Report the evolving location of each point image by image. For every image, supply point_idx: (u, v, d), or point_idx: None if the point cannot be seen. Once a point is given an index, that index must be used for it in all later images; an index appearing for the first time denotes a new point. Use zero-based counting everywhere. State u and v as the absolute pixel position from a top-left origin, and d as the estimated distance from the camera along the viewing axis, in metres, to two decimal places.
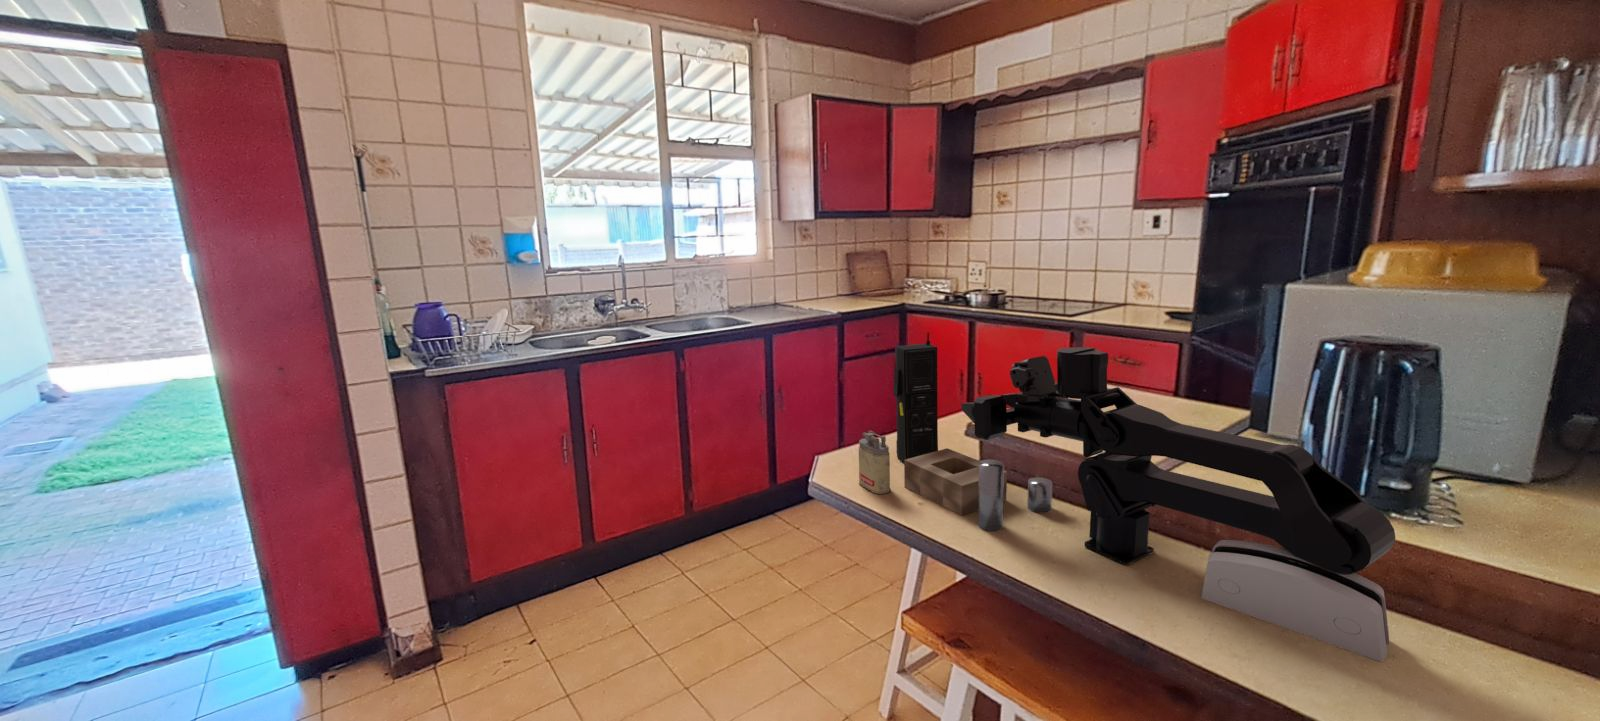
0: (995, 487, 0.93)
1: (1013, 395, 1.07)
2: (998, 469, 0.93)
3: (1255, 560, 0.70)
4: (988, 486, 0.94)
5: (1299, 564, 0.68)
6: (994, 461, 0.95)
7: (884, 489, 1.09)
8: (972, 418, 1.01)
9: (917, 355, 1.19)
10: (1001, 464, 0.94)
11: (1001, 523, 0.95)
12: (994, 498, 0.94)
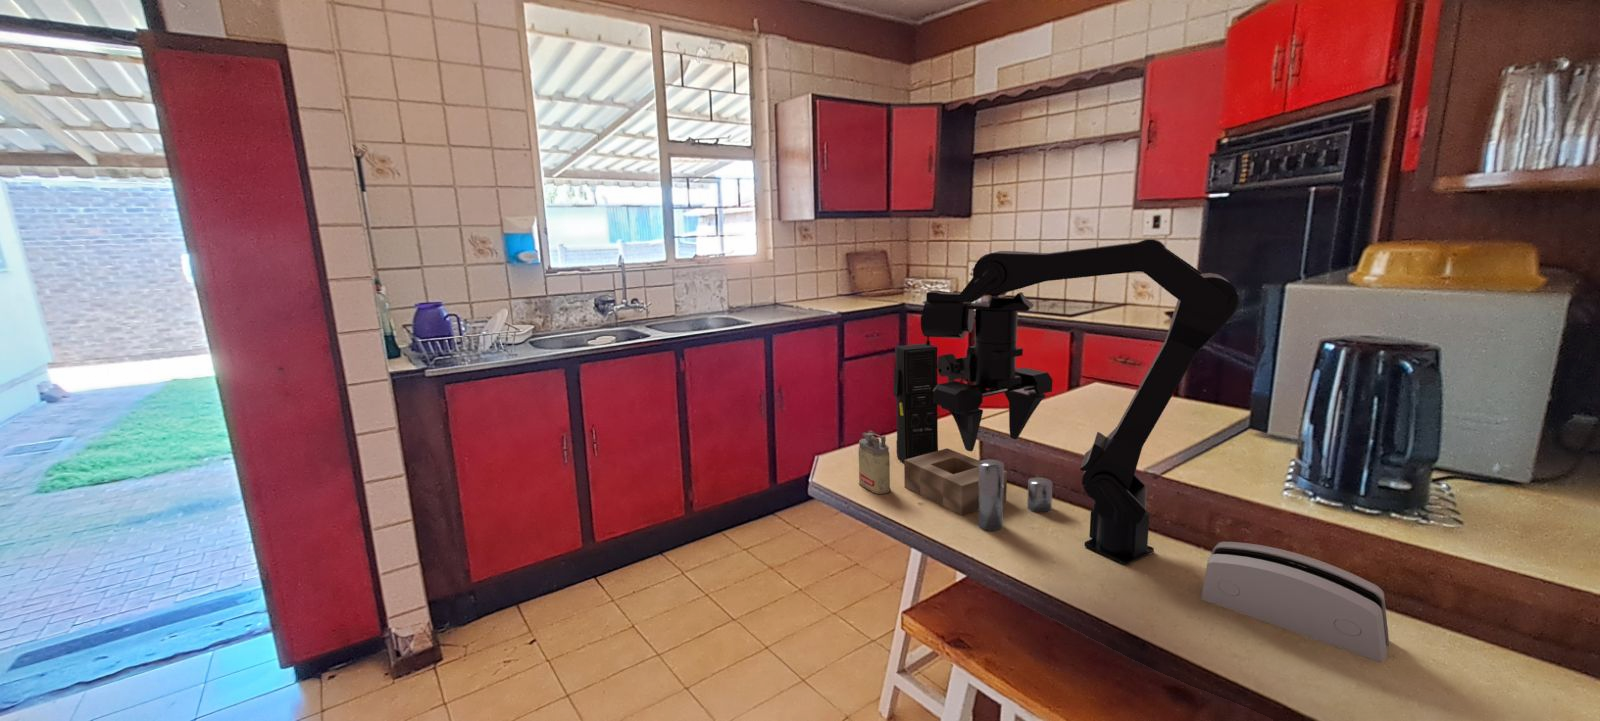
0: (995, 487, 0.93)
1: (1010, 420, 0.96)
2: (998, 469, 0.93)
3: (1255, 562, 0.70)
4: (988, 486, 0.94)
5: (1299, 566, 0.68)
6: (994, 461, 0.95)
7: (884, 489, 1.09)
8: (969, 431, 0.89)
9: (917, 355, 1.19)
10: (1001, 464, 0.94)
11: (1001, 523, 0.95)
12: (994, 498, 0.94)
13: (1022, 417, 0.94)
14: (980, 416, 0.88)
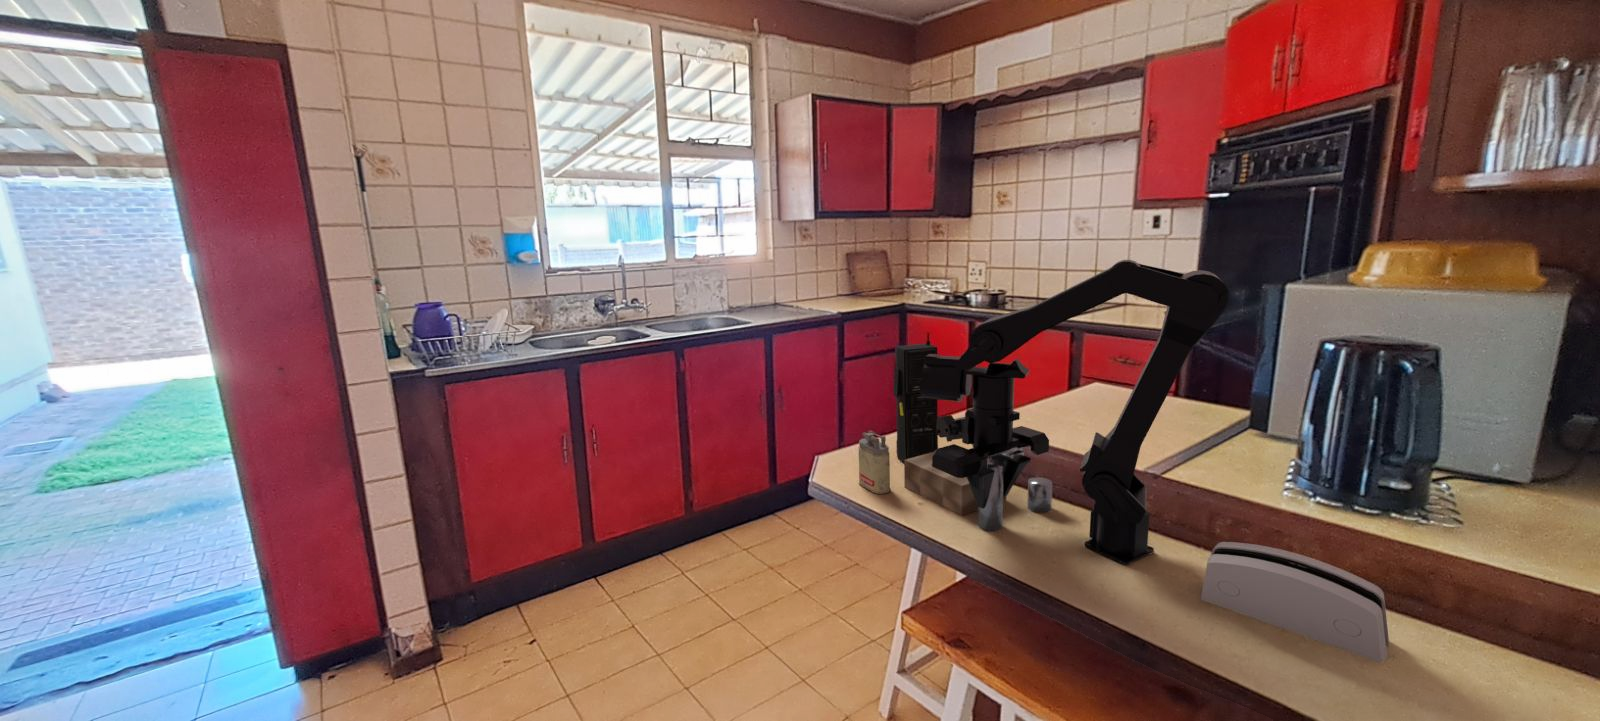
0: (995, 487, 0.93)
1: None
2: (998, 469, 0.93)
3: (1255, 562, 0.69)
4: None
5: (1299, 566, 0.68)
6: (994, 461, 0.95)
7: (884, 489, 1.09)
8: (981, 490, 0.93)
9: (917, 355, 1.19)
10: (1001, 464, 0.94)
11: (1001, 523, 0.95)
12: (994, 498, 0.94)
13: (1008, 481, 0.95)
14: (992, 476, 0.91)
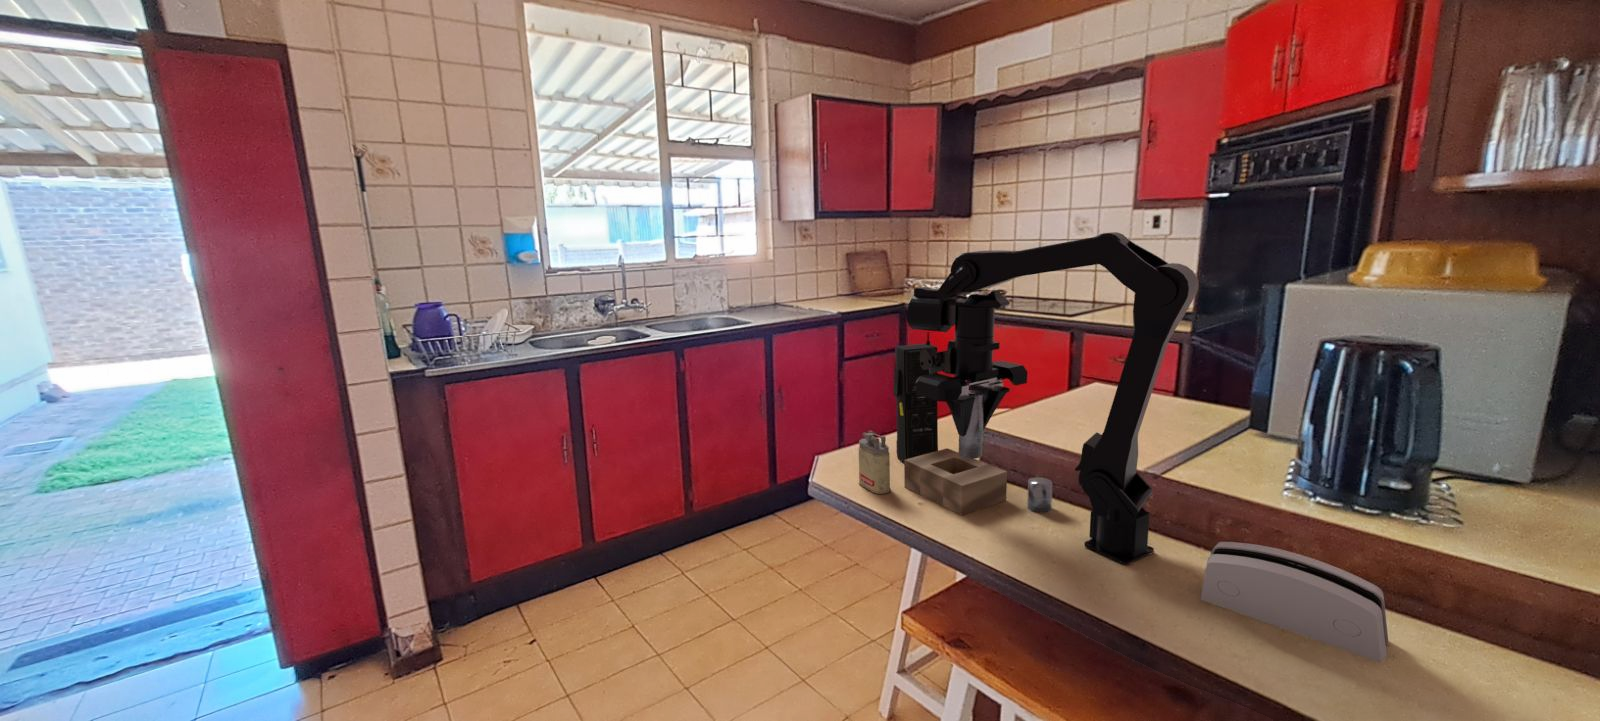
0: (975, 415, 0.97)
1: None
2: (978, 397, 0.97)
3: (1254, 562, 0.69)
4: None
5: (1298, 566, 0.68)
6: (975, 391, 0.99)
7: (884, 489, 1.09)
8: (962, 417, 0.96)
9: (917, 355, 1.19)
10: (981, 393, 0.98)
11: (981, 451, 0.99)
12: (974, 426, 0.98)
13: (987, 410, 0.99)
14: (972, 403, 0.95)
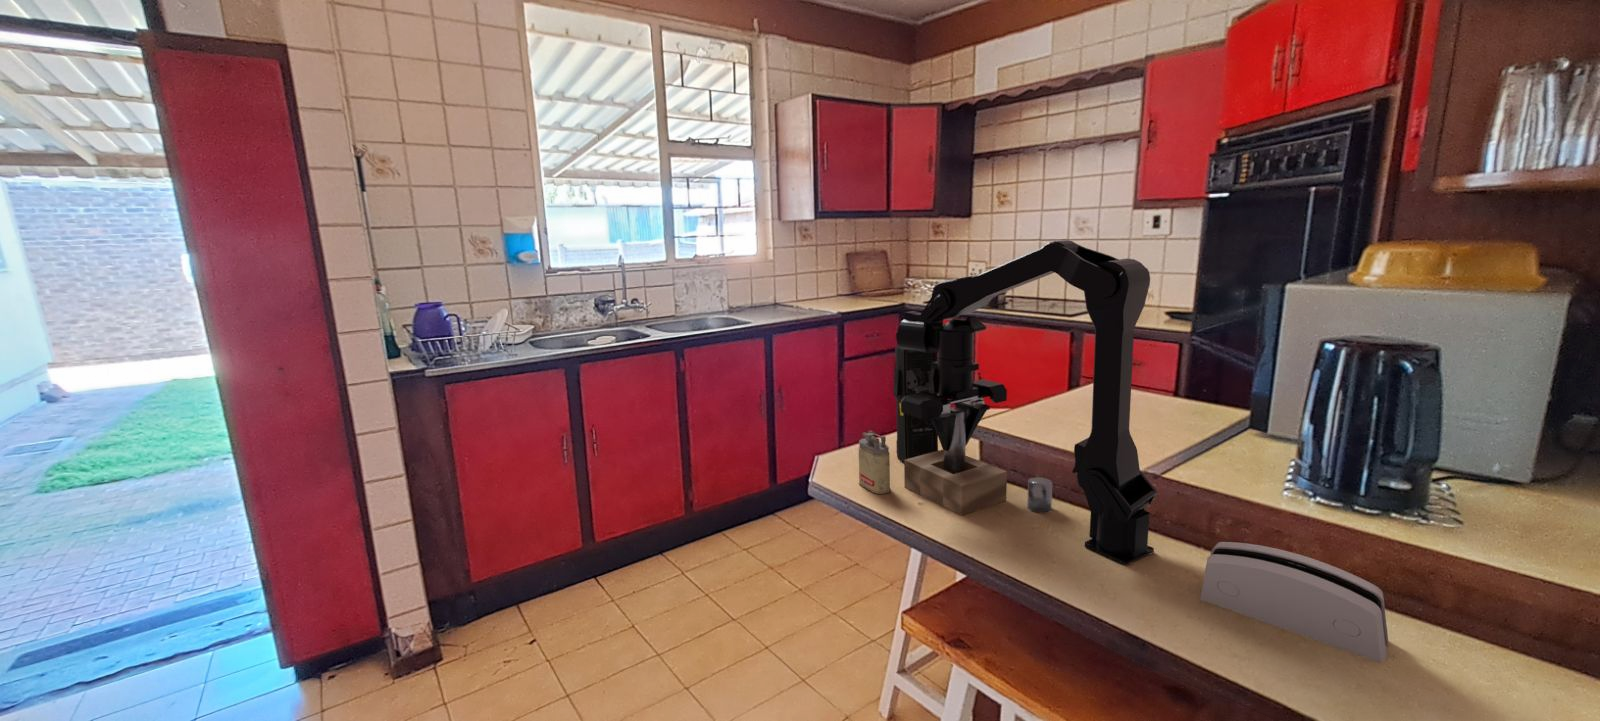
0: (957, 431, 1.05)
1: None
2: (960, 414, 1.04)
3: (1254, 562, 0.69)
4: None
5: (1298, 566, 0.68)
6: (957, 408, 1.07)
7: (884, 489, 1.09)
8: (945, 433, 1.04)
9: (917, 355, 1.19)
10: (963, 411, 1.05)
11: (964, 464, 1.06)
12: (957, 441, 1.05)
13: (969, 426, 1.06)
14: (954, 420, 1.02)
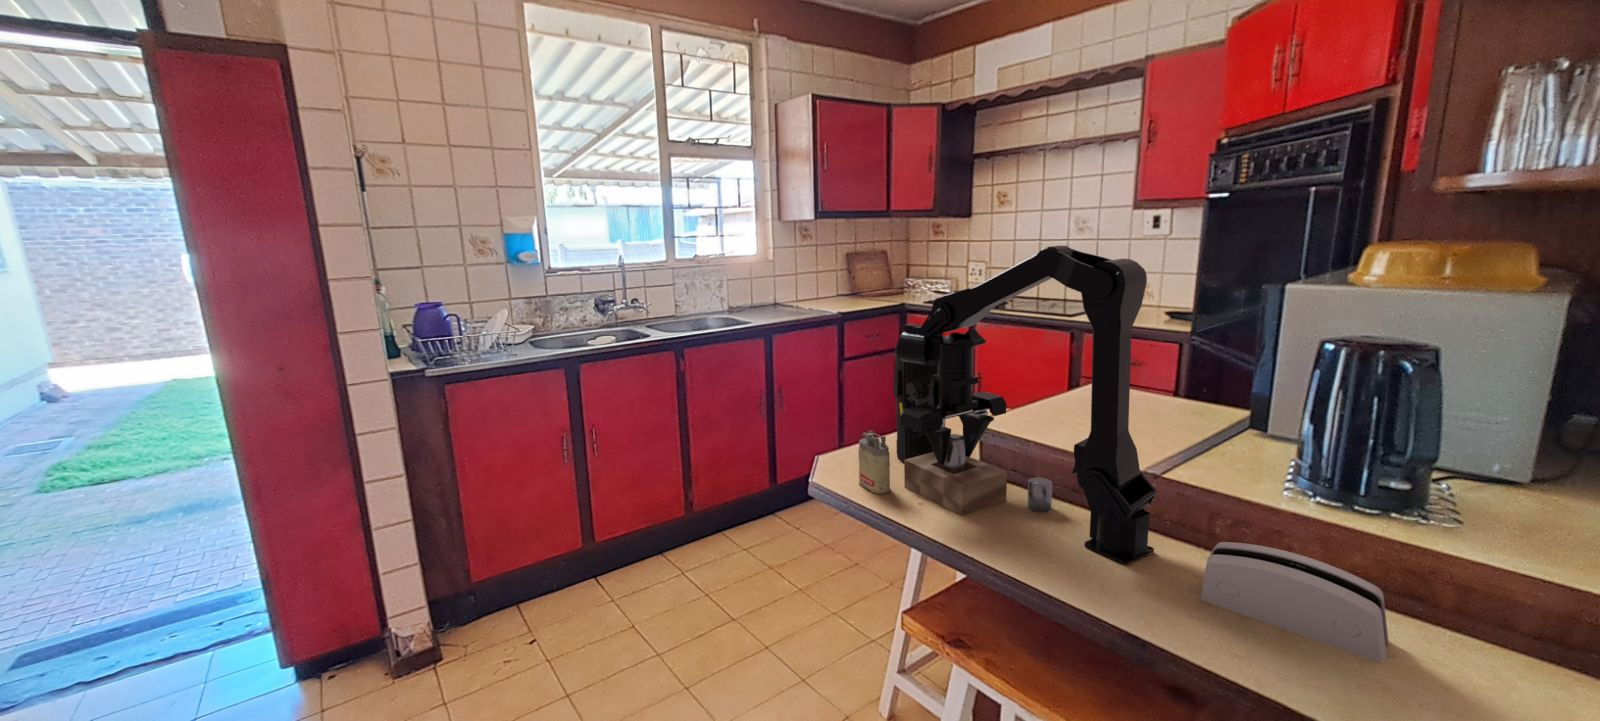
0: (957, 458, 1.06)
1: None
2: (959, 441, 1.05)
3: (1254, 563, 0.69)
4: (951, 457, 1.06)
5: (1298, 566, 0.68)
6: (957, 435, 1.08)
7: (884, 489, 1.09)
8: (940, 447, 1.04)
9: None
10: (962, 438, 1.06)
11: None
12: (956, 468, 1.06)
13: (973, 438, 1.07)
14: (949, 434, 1.02)
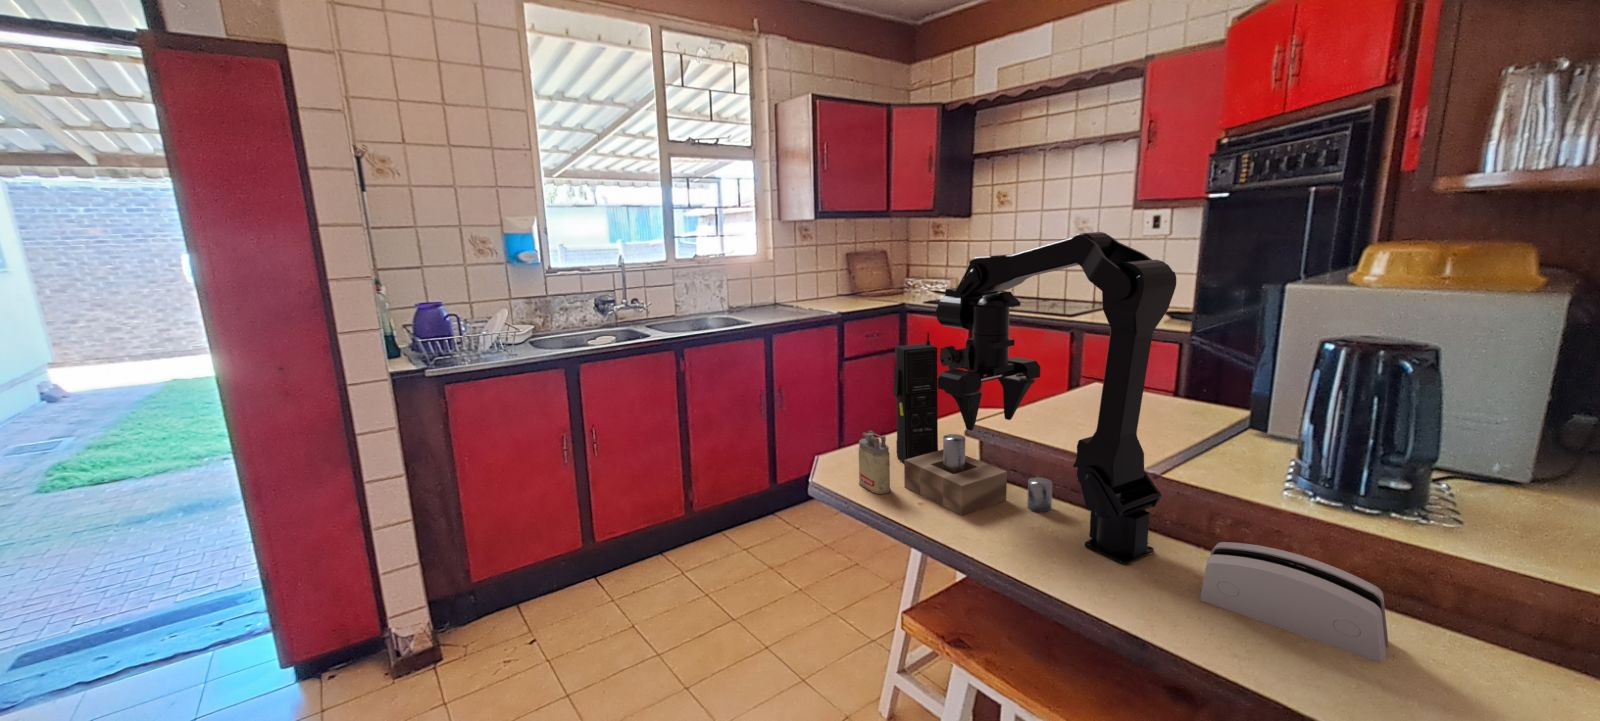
0: (957, 458, 1.06)
1: (1004, 403, 1.10)
2: (959, 441, 1.05)
3: (1254, 563, 0.69)
4: (951, 457, 1.06)
5: (1298, 567, 0.68)
6: (957, 435, 1.08)
7: (884, 489, 1.09)
8: (970, 412, 1.02)
9: (917, 355, 1.19)
10: (962, 438, 1.06)
11: None
12: (956, 468, 1.06)
13: (1015, 400, 1.08)
14: (979, 398, 1.01)
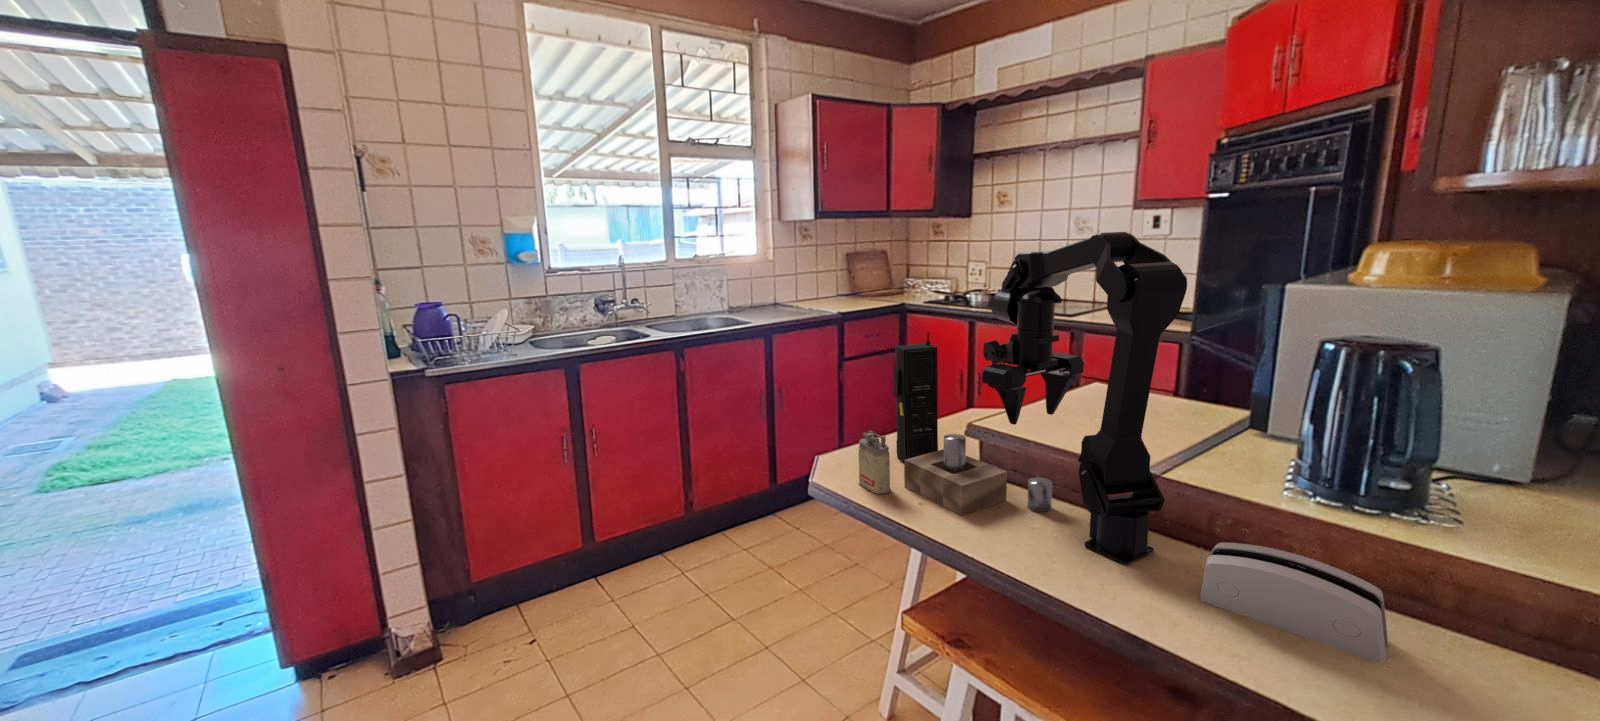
0: (957, 458, 1.06)
1: (1046, 398, 1.11)
2: (960, 441, 1.05)
3: (1254, 563, 0.69)
4: (951, 457, 1.06)
5: (1298, 567, 0.68)
6: (957, 435, 1.08)
7: (884, 489, 1.09)
8: (1014, 406, 1.04)
9: (917, 355, 1.19)
10: (963, 438, 1.06)
11: None
12: (957, 468, 1.06)
13: (1057, 395, 1.09)
14: (1024, 393, 1.02)
